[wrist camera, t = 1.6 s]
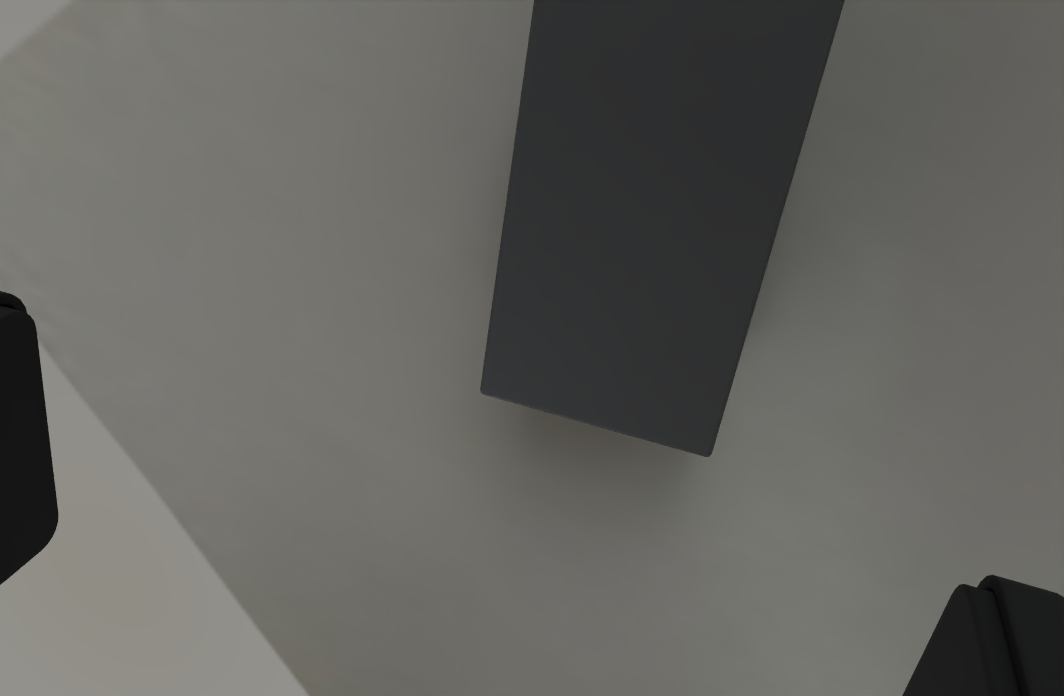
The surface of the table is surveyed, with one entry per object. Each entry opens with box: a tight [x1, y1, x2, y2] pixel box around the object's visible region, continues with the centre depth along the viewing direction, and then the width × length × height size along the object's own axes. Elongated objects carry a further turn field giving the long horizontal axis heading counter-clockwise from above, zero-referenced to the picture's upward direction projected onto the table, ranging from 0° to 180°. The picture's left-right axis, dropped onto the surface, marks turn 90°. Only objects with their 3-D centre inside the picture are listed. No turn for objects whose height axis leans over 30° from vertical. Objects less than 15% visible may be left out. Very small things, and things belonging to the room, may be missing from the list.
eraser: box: [480, 0, 845, 457], centre depth 19 cm, size 9×5×5 cm, turn 171°
